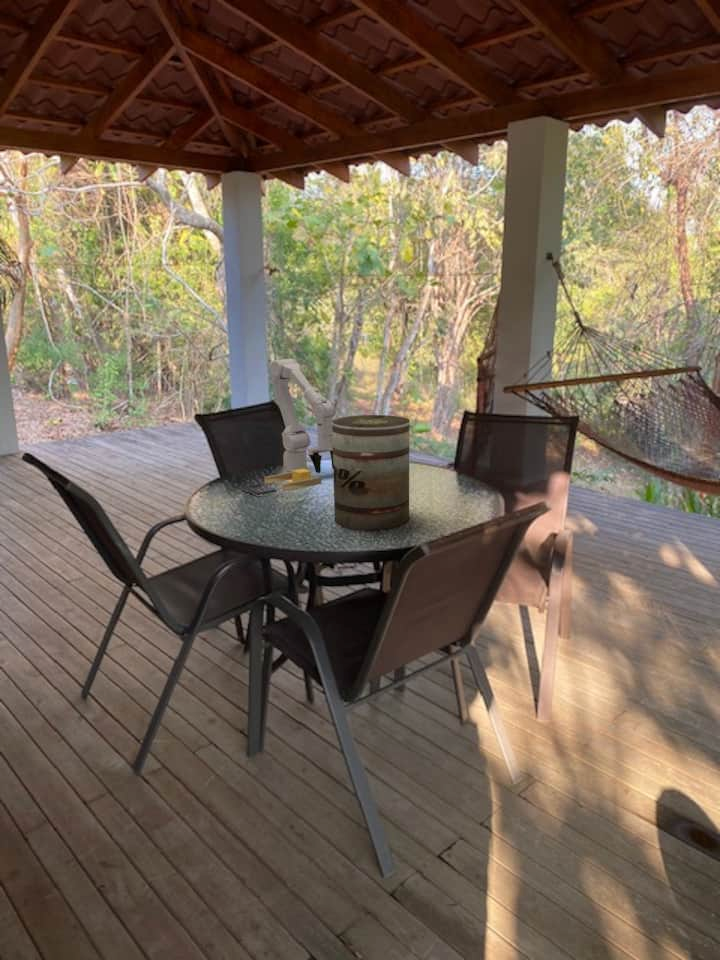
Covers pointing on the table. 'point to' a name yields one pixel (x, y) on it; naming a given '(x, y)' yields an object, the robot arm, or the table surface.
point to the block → (301, 475)
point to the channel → (292, 484)
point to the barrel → (371, 472)
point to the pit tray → (256, 491)
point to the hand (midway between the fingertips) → (326, 470)
